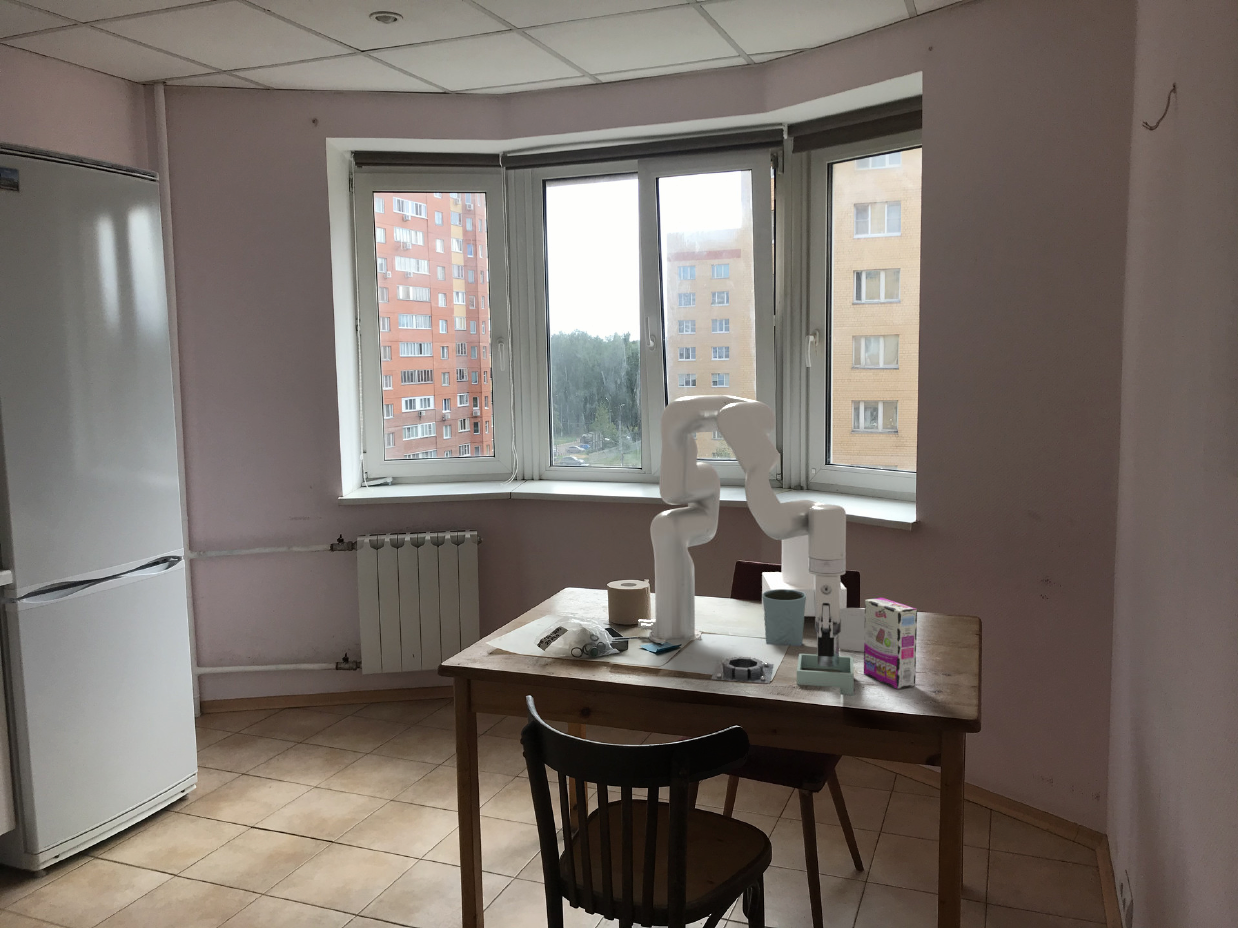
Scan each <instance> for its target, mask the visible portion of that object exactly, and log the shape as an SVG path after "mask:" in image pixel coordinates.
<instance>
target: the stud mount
mask: <svg viewBox="0 0 1238 928" xmlns="http://www.w3.org/2000/svg"><path fill="white" fill-rule="evenodd" d="M774 665H775V664H774V663H769V662H767V661H766V662H763V661H762V660H761V659H758V658H755V657H754V658H752V657H749V656H748V657H747V656H738V657H737V656H734V657H730V658H726V659H722V660H717V663H716V666H715V667H714V671H713V674H712V676H711V680H717V681H732V682H748V683H763V684H771V683H770V682H771V679H772V675H773V671H774V670H773V669H774Z"/></svg>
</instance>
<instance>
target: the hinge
mask: <svg viewBox="0 0 1238 928" xmlns="http://www.w3.org/2000/svg"><path fill="white" fill-rule="evenodd" d="M840 619H841V632H840V633H839V650H845V651H854V652H855V651H856V652H863V653H864V629H865V608H861V607H846V608H843V609H841V611H840Z"/></svg>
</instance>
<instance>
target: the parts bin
mask: <svg viewBox="0 0 1238 928" xmlns="http://www.w3.org/2000/svg"><path fill="white" fill-rule="evenodd" d="M802 668H803V669H806V670H803V669H802ZM807 669H817V670H807ZM822 670H834V671H822ZM838 671H839V672H838ZM854 676H855V671H854V656H845V655H843V656H842V655H839V665H838V666H835V667H824V666H820V665H818V660H817V654H814V653H813V654H812V653H811V654H810V653H799V654H798V660H797V668H796V685H800V686H801V685H803V686H817V687H829V688H830V687H833V688H839V690H840V691H839V693H840V695H844V696H845V695H846V696H854V689H855V688H854V684H855V682H854V681H855V677H854Z"/></svg>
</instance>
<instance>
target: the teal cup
mask: <svg viewBox="0 0 1238 928" xmlns="http://www.w3.org/2000/svg"><path fill="white" fill-rule="evenodd" d="M805 602H806V594H805V593H803V592H800V591H796V590H789V589H775V590H769V591H766V592H764V593H763V605H764V611H765V613H764V612H763V614H764V615H763V616H764V619H763V620H764V630H765V633H764V634H765V642H766V643H765V644H767V645H772V646H787V647H788V646H790V647H791V646H792V647H802V645H803V640H804V632H803V631H804V626H805V625H804V623H805V616H804V611H805Z"/></svg>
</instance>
